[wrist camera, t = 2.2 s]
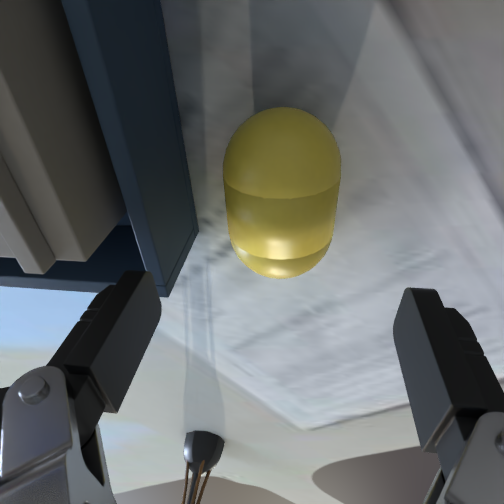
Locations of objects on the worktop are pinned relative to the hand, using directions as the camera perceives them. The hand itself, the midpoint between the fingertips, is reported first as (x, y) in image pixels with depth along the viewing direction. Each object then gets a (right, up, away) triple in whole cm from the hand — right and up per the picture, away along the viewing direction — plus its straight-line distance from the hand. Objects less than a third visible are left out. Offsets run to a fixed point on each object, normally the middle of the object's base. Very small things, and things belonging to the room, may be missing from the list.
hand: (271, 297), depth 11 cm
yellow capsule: (+1, +6, +7) cm, 9 cm away
